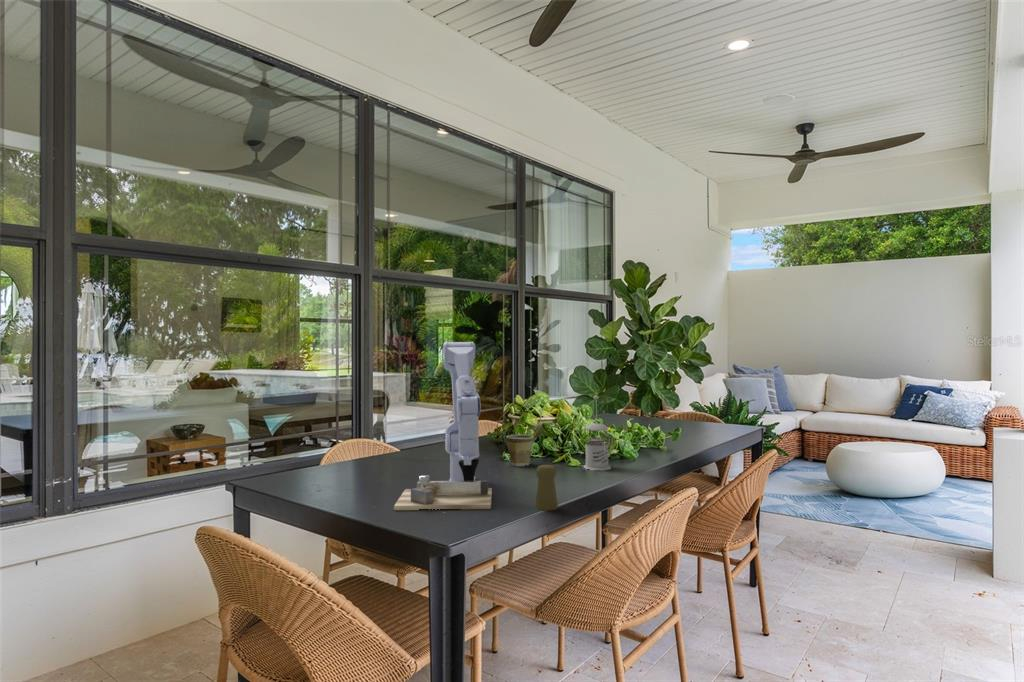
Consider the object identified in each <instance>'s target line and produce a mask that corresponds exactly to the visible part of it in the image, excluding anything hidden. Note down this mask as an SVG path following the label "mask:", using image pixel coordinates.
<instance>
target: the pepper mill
mask: <svg viewBox="0 0 1024 682" xmlns="http://www.w3.org/2000/svg"><path fill="white" fill-rule="evenodd" d="M535 473H536V477H537V478H538V479H537V488H536V495H535V502H534V503H535V505H534V508H535V509H536V508H537V509H536V510H538V509H540V510H539V511H554V510H555V511H556V510H558V509H559V505H558V498H557V491H556V484H555V478H556V475H557V468H556V467H555V465H550V464H542V465H538V466H537V468H536V469H535Z"/></svg>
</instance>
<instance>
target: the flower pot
mask: <svg viewBox="0 0 1024 682" xmlns="http://www.w3.org/2000/svg"><path fill="white" fill-rule="evenodd" d="M505 440H506V446H507V449H508V452H509V453H508V455H509V460H510V461H509V462H510V464H511V466H513V465H514V467H526V466H525V465H527V466H530V462H531V460H530V459H531V454H532V449H533V446H534V440H535V436H534V435H531V434H523V433H522V434H520V433H519V434H510V435H509V434H508V435H506V436H505Z"/></svg>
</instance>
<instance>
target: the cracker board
mask: <svg viewBox="0 0 1024 682" xmlns="http://www.w3.org/2000/svg"><path fill="white" fill-rule="evenodd" d="M411 489H412V488H405V489H404V491H403V492H402V493H401V495H400V496H399V497H398V498H397V501H396V502H395V504H394V505H393V510H394V511H420V510H419V509H429V510H428V511H440V509H461V510H491V509H492V500H493V499H492V497H493V496H492V495H493V487H488V494H437V495H436V497H435V498H434V499H433V503H431V504H427V505H425V504H421V503H417V502H412V501H411ZM491 499H492V500H491ZM430 509H432V510H430ZM433 509H435V510H433ZM437 509H439V510H437Z"/></svg>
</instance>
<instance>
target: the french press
mask: <svg viewBox="0 0 1024 682" xmlns="http://www.w3.org/2000/svg"><path fill="white" fill-rule="evenodd" d="M593 399H594V400H595V411H596V412H595V423H590V424H589V425H587V426H585V427H584V429H585V430H586V431H592V432H595V433H596V435H595V437H590V438H586V439H585V440H586V443H585V447H584V448H585V449H584V451H585V464H584V465H583V466H582V468H583V467H584V468H585V469H584V468H583V469H584V470H587V469H590V470H589V471H595V470H601V471H609V470H611V469H612V467H611V466H610V465H609V452H610V451H611V449H612V448H613V444H614V440H613V439H614V438H613V435H612V433H611V432H609V431H608V430H609V427H608V426H607V425H605V424H604V423H603V424H602V423H599V422H598V419H597V418H598V413H597V412H598V411H597V409H598V408H597V406H598V401H597V399H598V400H599V399H600V396H599V395H594V396H593ZM599 431H600V432H602V434H603V436H607V437H608V439H607V438H604V437H603V438H601V437H600V438H599V437H598V432H599ZM604 432H605V433H604ZM610 437H611V439H610ZM610 440H611V441H610ZM607 441H608V443H607ZM605 442H606V443H605ZM610 443H611V447H610ZM609 447H610V449H609Z"/></svg>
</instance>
